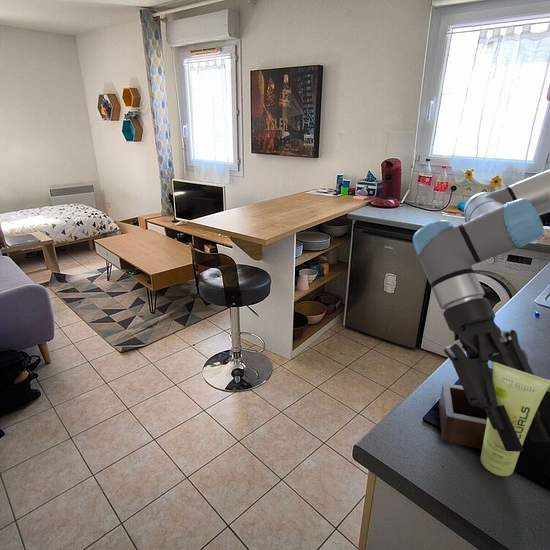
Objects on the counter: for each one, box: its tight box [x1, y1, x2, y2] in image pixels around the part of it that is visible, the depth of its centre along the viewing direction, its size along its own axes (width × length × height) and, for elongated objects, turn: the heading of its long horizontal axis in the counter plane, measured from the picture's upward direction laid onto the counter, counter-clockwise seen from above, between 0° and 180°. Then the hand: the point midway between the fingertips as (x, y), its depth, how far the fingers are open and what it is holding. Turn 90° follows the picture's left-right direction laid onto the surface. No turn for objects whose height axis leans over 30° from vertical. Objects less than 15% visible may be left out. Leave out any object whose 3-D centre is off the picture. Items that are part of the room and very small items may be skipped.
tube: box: [480, 362, 550, 477], centre depth 58 cm, size 6×5×20 cm
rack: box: [438, 382, 488, 450], centre depth 70 cm, size 10×10×6 cm
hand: (528, 445), depth 56 cm, fingers closed on tube, 5 cm apart
